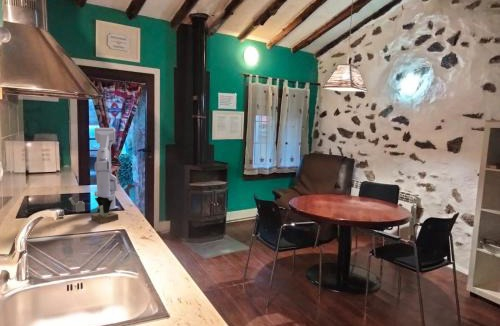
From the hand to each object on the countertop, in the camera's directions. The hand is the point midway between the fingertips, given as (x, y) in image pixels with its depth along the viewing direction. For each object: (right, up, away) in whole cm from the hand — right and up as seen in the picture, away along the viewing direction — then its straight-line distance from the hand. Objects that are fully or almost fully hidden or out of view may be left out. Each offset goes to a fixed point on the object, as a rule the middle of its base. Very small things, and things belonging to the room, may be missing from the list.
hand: (104, 212), depth 163 cm
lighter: (-20, -2, +13) cm, 24 cm away
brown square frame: (0, -4, +1) cm, 4 cm away
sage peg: (0, -3, 0) cm, 3 cm away
